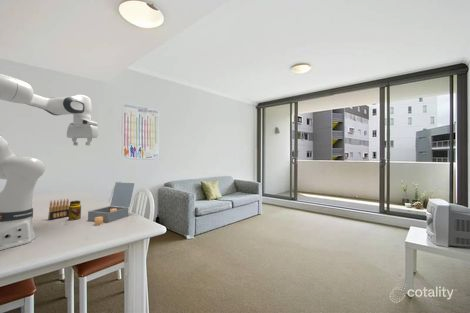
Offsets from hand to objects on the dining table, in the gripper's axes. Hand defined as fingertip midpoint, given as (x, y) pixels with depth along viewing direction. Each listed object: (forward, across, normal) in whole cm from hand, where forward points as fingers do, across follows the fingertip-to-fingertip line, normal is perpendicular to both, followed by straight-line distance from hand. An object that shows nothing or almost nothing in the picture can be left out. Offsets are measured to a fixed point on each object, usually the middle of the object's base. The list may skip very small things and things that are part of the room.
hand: (81, 145), depth 130 cm
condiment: (+47, -8, +2) cm, 47 cm away
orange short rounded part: (+45, +11, +14) cm, 49 cm away
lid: (+32, +11, +21) cm, 40 cm away
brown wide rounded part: (+46, +16, -2) cm, 49 cm away
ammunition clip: (+46, -21, +4) cm, 51 cm away
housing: (+46, +11, +10) cm, 49 cm away
